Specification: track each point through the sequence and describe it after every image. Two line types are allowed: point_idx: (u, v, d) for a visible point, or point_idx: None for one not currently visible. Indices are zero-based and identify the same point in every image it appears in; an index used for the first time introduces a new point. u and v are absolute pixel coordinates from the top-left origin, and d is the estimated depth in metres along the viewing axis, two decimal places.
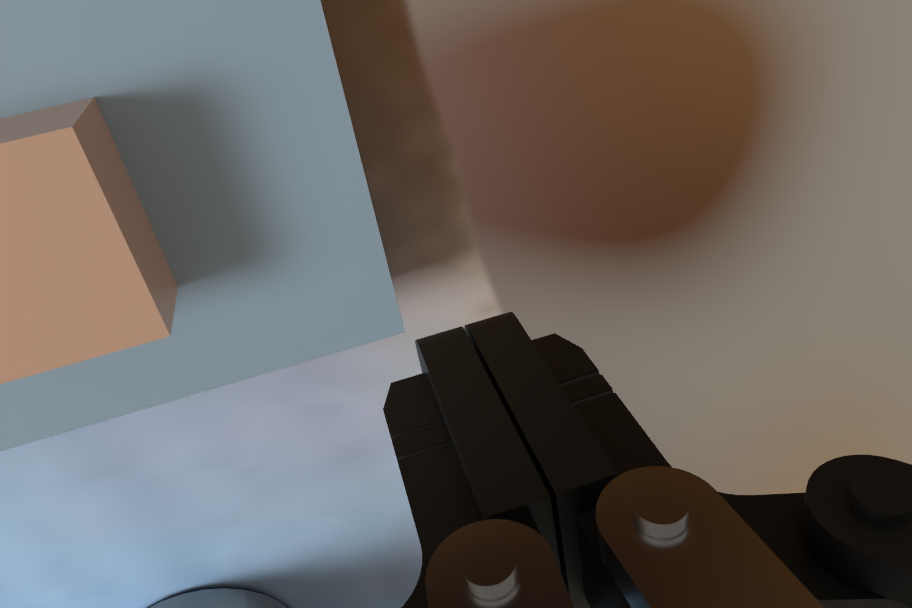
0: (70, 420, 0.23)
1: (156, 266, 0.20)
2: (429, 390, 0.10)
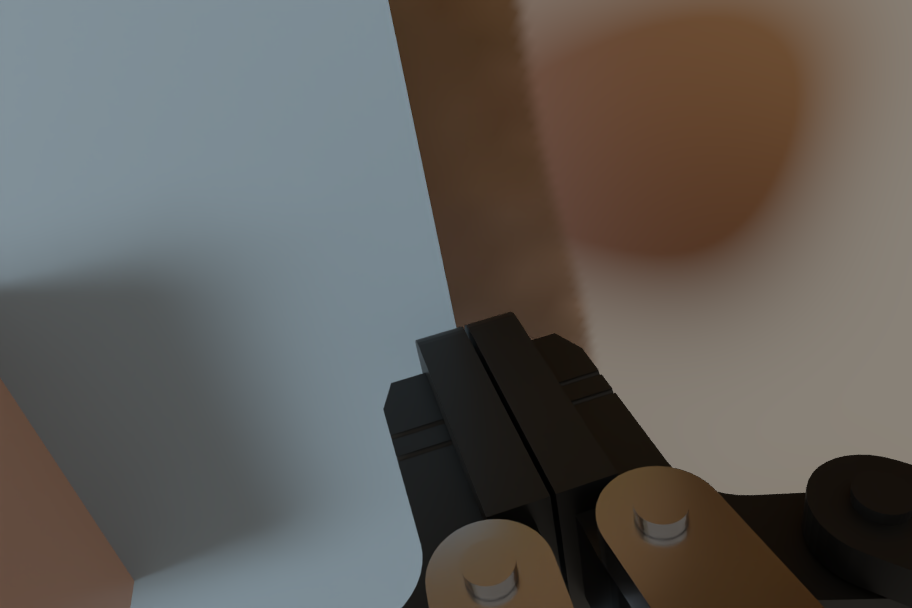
0: None
1: (84, 595, 0.11)
2: (429, 390, 0.10)
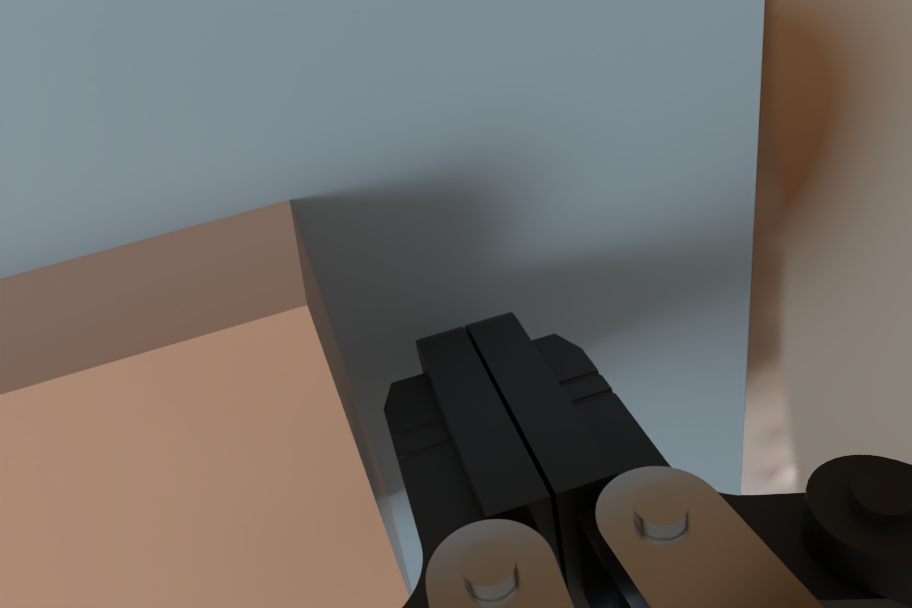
0: None
1: (383, 496, 0.11)
2: (429, 390, 0.10)
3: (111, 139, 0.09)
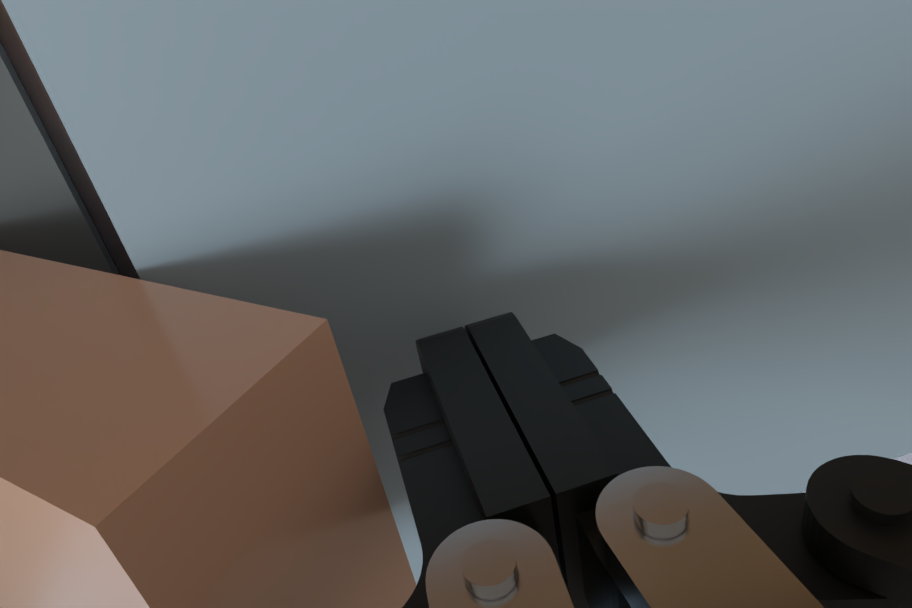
0: None
1: None
2: (429, 390, 0.10)
3: None
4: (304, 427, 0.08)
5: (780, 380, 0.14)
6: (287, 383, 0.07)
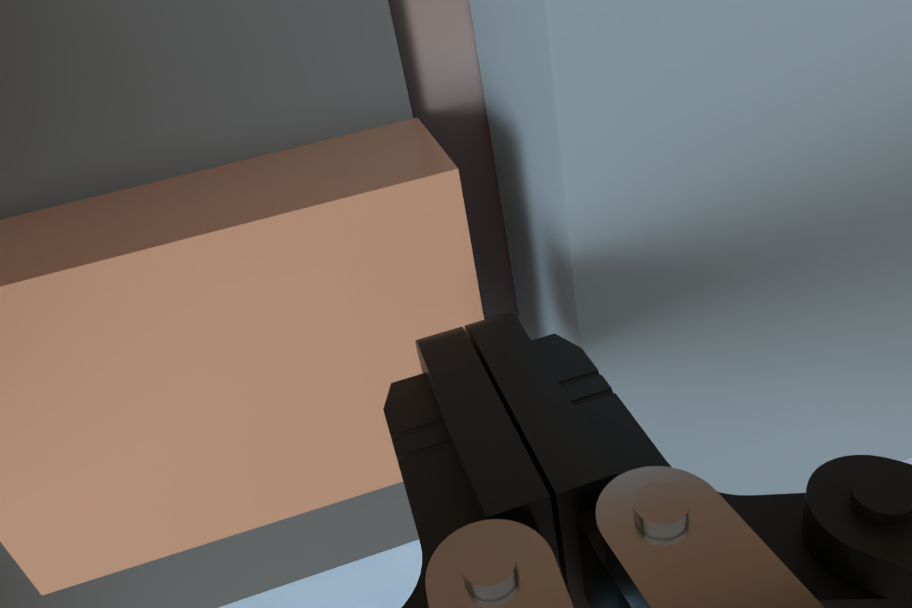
0: None
1: None
2: (429, 390, 0.10)
3: None
4: None
5: None
6: None
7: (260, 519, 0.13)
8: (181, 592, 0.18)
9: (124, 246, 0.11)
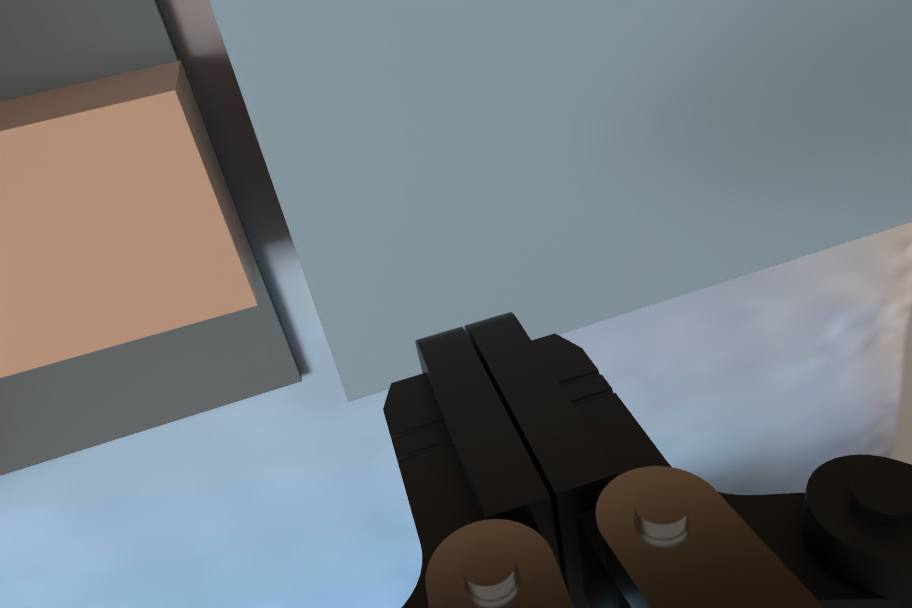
0: (613, 307, 0.22)
1: (239, 234, 0.20)
2: (429, 390, 0.10)
3: None
4: (192, 101, 0.18)
5: (662, 198, 0.20)
6: (183, 78, 0.18)
7: (70, 352, 0.19)
8: (44, 437, 0.23)
9: None
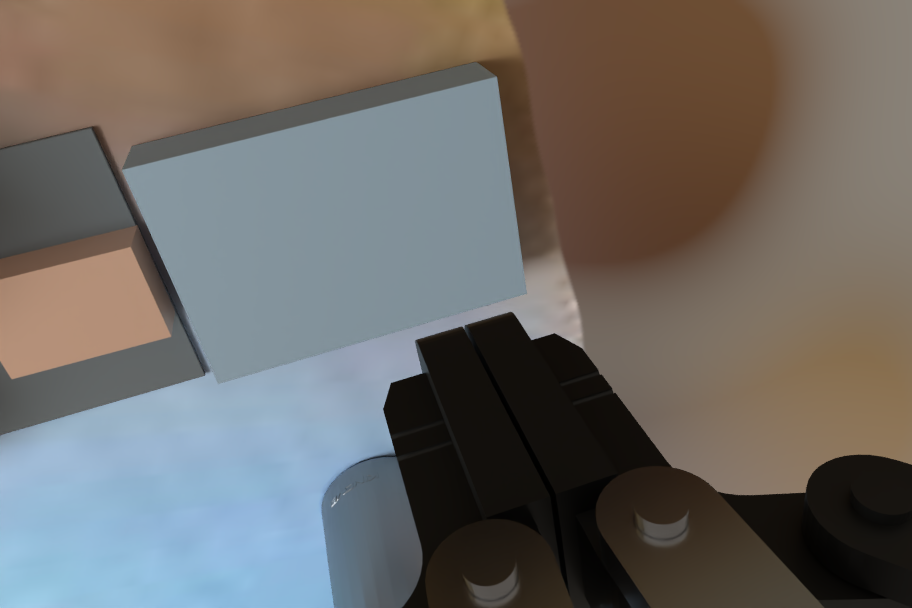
0: (354, 338, 0.44)
1: (164, 302, 0.42)
2: (429, 390, 0.10)
3: (344, 163, 0.39)
4: (141, 244, 0.41)
5: (368, 287, 0.43)
6: (137, 235, 0.40)
7: (84, 357, 0.41)
8: (69, 401, 0.45)
9: (34, 268, 0.38)
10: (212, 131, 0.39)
